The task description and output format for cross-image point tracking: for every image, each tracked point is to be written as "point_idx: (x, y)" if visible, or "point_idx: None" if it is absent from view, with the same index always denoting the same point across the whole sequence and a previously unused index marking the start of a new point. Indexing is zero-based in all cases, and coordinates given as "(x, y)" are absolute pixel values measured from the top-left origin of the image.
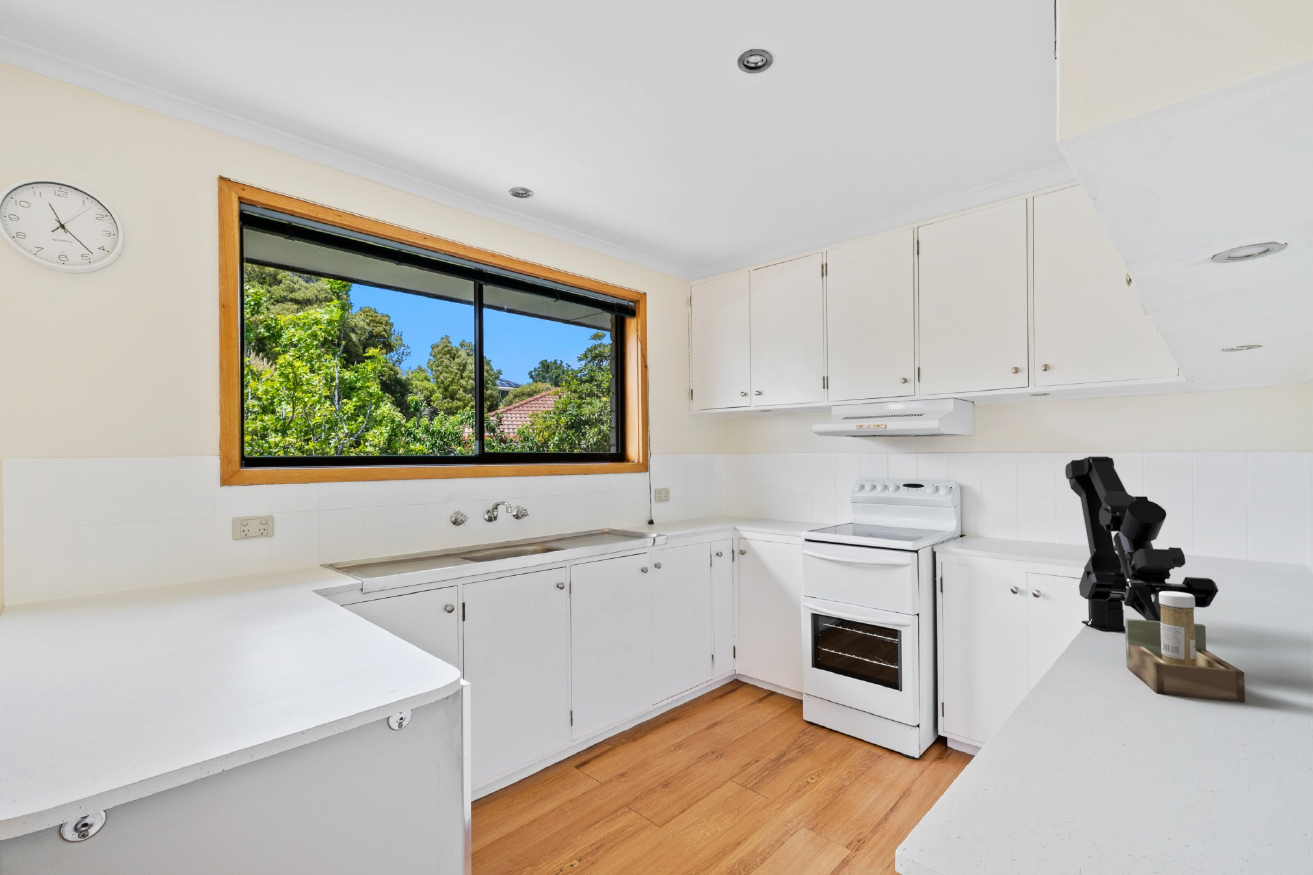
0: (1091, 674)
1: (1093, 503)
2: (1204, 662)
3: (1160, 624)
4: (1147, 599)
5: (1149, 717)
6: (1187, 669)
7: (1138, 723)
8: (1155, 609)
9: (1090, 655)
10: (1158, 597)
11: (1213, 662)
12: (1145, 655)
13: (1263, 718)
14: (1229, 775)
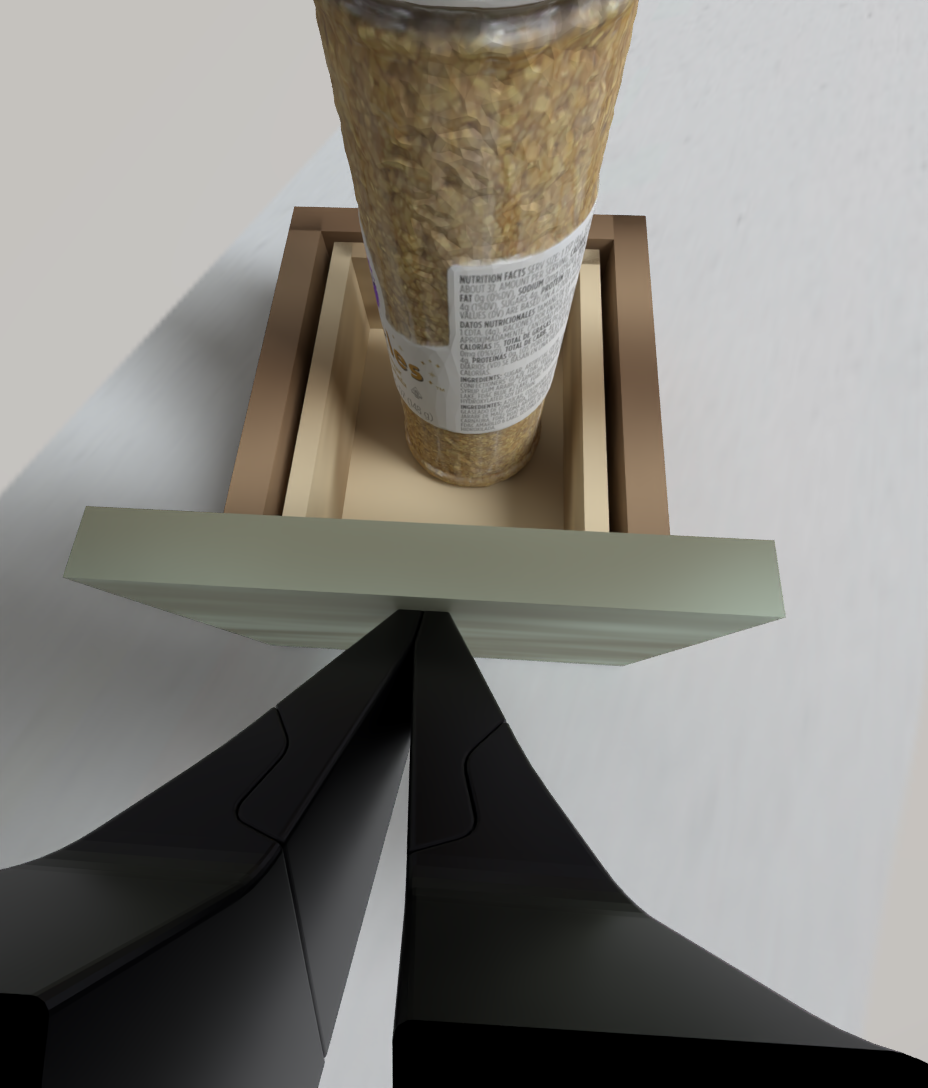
0: (814, 492)
1: None
2: (330, 432)
3: (589, 225)
4: (502, 885)
5: (701, 128)
6: None
7: (743, 87)
8: (424, 723)
9: (772, 906)
10: (210, 1001)
11: (328, 341)
12: (648, 343)
13: None
14: None
